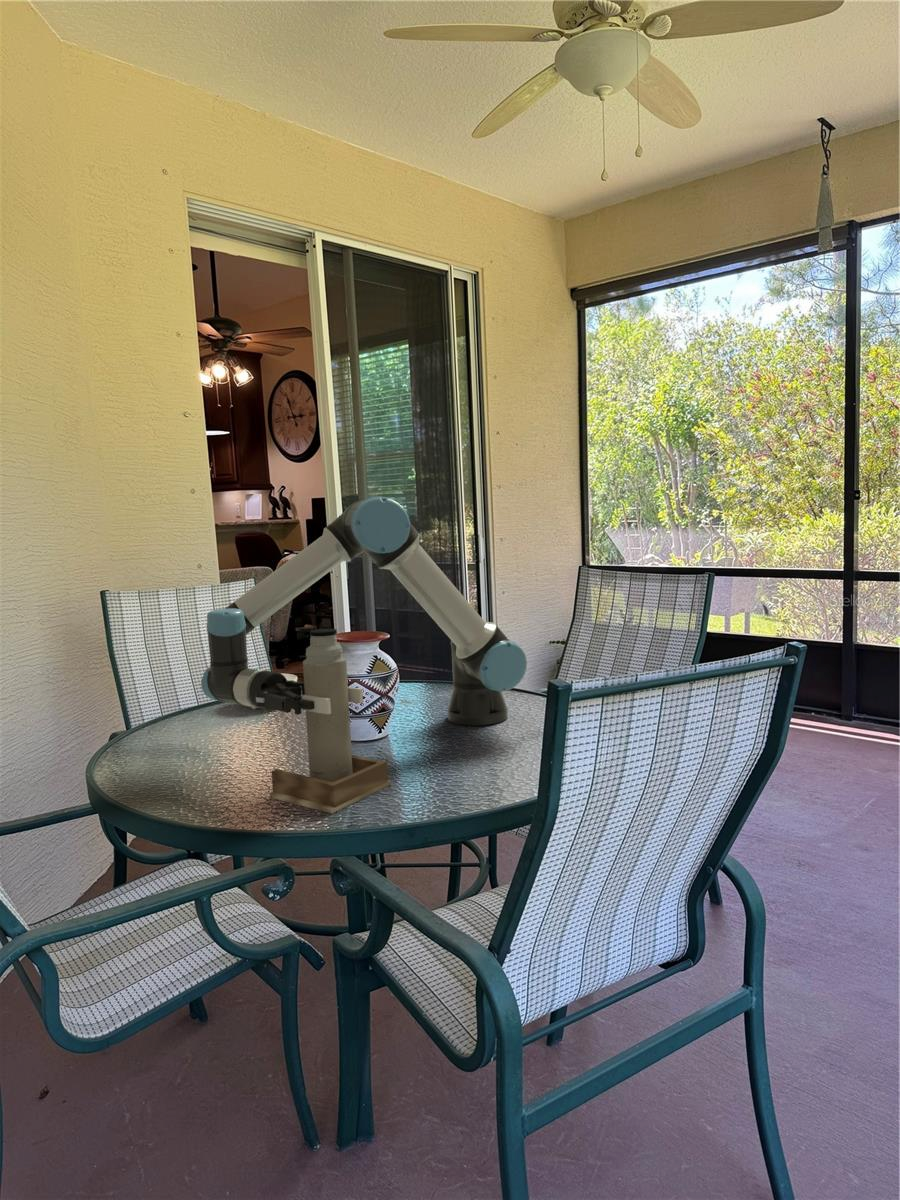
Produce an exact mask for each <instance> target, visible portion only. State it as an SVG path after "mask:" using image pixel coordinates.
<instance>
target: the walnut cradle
mask: <svg viewBox="0 0 900 1200" xmlns="http://www.w3.org/2000/svg"><path fill="white" fill-rule="evenodd" d="M352 771H353V774H351V775H349V776H347V777H344V778H342V779H340V780H338V781H335V782H330V781H325V780H321V779H317V778H312V777H310V775H309V776H307V775H304V774H303V775H302V774H299V773H294V772H290V771H285V770H282V769H277V768H276V769H273V770H271V782H272V783H271V784H272V786H271V787H272V791H271V792H269V797H270V798H271V799H274V800H275V799H276V800H279V801H283V802H286V803H291V804H293V805H297V806H303V807H304V808H305V807H306V808H309V809H313V810H316V811H320V812H325V813H328V814H331V815H332V814H334V813H336V811H337V812H338V811H341V810H342V809H345V808H347V807H348V806H350V805H352V804H355V803H357V802H358V801H361V800H363V799H365V798H367V797H370V795H373V794H376V793H377V792H379V791H381V790H383V789H385V788H387V787H389V786H391V780H388V779H389V778H388V763H387V761H384V760H379V759H375V758H368V757H365V756H359V755H355V754H352Z"/></svg>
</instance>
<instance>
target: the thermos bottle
mask: <svg viewBox="0 0 900 1200" xmlns="http://www.w3.org/2000/svg"><path fill="white" fill-rule="evenodd" d="M337 632H338V631H337V629H336V628H317V629H312V630H310V631H309V635H310V638H309V640H310V641H309V644H310V645H308V647H306V648H305V657H306V658H305V659H304V660H303V661H302V669H303V673H302V674H303V682H304V689H305V695H308V696H315V697H322V698H329V699H330V703H331V714H323V713H316V712H310V711H305V719H306V733H307V735H306V736H307V747H308V748H307V749H308V752H307V753H308V767H309V776H310V777H312V778H317V779H321V780H325V781H330V782H335V781H338V780H340V779H342V778H344V777H347V776H349V775H351V774H353V771H352V755H353V754H352V753H353V752H352V741H351V740H352V738H351V722H350V721H351V719H350V702H349V699H348V687H349V686H348V684H349V681H348V667H347V666H348V665H347V658H346V657H344V656H343V651H344V650H343V647H342V646H341V645H340V644H338V639H337V635H336V634H337Z"/></svg>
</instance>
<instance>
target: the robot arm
mask: <svg viewBox="0 0 900 1200" xmlns="http://www.w3.org/2000/svg"><path fill="white" fill-rule="evenodd" d="M420 538H421V537H420V533H419V532H418V531H417V529H416V528H415V527H414V525H413V524H412V523H411V521H410V517H409V515H408V513H407V511H406V510H405V508H404V507H403V506H402V505H401V504H400V503H399V502H397V501H395V500H394V499H392V498H389V497H386V496H382V495H381V496H378V495H377V496H371V497H368V498H363V499H360V500H357V501H355V502H353V503H351V504H350V505H349V506H348V507H347V508H346V509H345V510H344V511H343V512H342V513H341V514H340V515H338V517H336V518H335V519H334V520H333V521H332V522H331V523H329V524H328V525H326V527H324V528H323V532H322V535H321V536H319V537H318V538H317V539H316V540H314V541H313V542H312V543H310V544H309V545H308V546H306V547H305V548H304V549H302V550H301V551H300V552H298V553H297V554H296V555H294V556H293V557H291V558H290V559H289V560H288V561H286V562H285V563H283V564H282V565H281V566H280V567H278V568H276V569H275V570H274V571H273V572H272V573H270V574H269V575H268V576H266V577H264V578H263V579H262V580H261V581H259V582H258V583H256V584H255V585H254V586H253V587H252V588H250V589H249V590H248V591H246V592H244V594H242V595H241V596H240V597H238V598H237V599H235V600H234V601H233V602H232V603H230V604H229V605H228V606H226V607H225V608H219V609H213V610H211V611H209V612H207V616H206V621H207V622H206V631H207V640H208V650H209V652H208V653H209V658H210V659H209V662H210V663H209V667H207V669H206V670H205V671H204V672H203V676H202V678H201V680H200V681H201V682H200V686H201V689H202V691H203V694H204V695H205V696H206V697H208V698H209V699H211V700H214V701H218V702H220V703H223V704H224V703H225V704H226V703H227V704H234V705H240V706H245V705H246V706H245V707H248V706H252V707H251V709H253V710H256V709H263V710H264V709H265V710H268V711H269V710H270V711H272V710H275V711H279V712H283V713H287V714H288V713H290V712H292V710H293V711H294V715H295V716H297V715H301V714H302V711H305V712H306V711H310V712H316V713H323V714H331V703H330V699H329V698H322V697H315V696H308V695H305V689H304V681H297V682H295V681H287V680H286V678H285V677H284V676H283V675H282V674H281V672H279V671H273V670H271V671H270V670H265V669H257V668H249V659H248V649H247V645H248V644H247V635H248V634H250V633H251V632H252V631H253V630H254V629H256V628H257V627H258V626H260V625H261V624H262V623H263V622H264V621H266V620H267V619H268V618H270V617H271V616H273V615H274V614H275V613H276V612H278V611H279V610H280V609H282V608H283V607H285V606H286V605H287V604H289V603H290V602H291V601H292V600H294V599H295V598H297V596H299V595H301V593H303V592H305V590H307V589H308V588H310V587H311V586H312V585H313V584H315V583H316V582H318V581H319V580H320V579H322V578H323V577H324V576H326V575H327V574H329V573H330V572H331V571H332V570H334V569H335V568H336V567H337V566H339V565H340V564H342V563H343V562H347V563H350V562H351V561H352V560H354V559H355V558H357V557H358V556H360V555H362V554H363V553H365V554H366V555H367V556H368V557H369V559H371V560H372V562H373V563H374V564H375V565H376V566H377V568H378V569H379V570H389V571H390V572H391V573H392V574H393V575H394V576H395V577H396V579H397V580H398V581H399V582H400V583H401V585H402V586H403V587H404V588H405V589H406V590H407V591H408V593H410V595H411V596H412V597H413V598H414V599H415V600H416V602H417V603H418V604H419V605H420V607H422V608H423V610H424V611H425V612H426V613H427V614H428V615H429V616H430V618H431V619H432V620H433V621H434V622H435V624H437V626H438V627H439V628H440V629H441V630H442V632H444V634H445V635H446V636H447V637H448V638H449V639H450V647H451V665H452V666H451V667H452V683H453V685H452V692H451V696H450V699H449V704H448V707H447V720H448V721H449V722H450V723H453V724H455V725H460V726H461V725H462V726H470V727H471V726H475V727H476V726H488V725H494V724H498V723H501V722H504V721H506V720H507V719H508V717H509V715H508V713H509V712H508V707H507V703H506V701H505V698H504V696H503V692H507V691H509V690H512V689H514V688H516V686H519V684H520V683H521V681H522V680H523V678H525V677H524V676H525V674H526V672H527V665H528V662H527V661H528V660H527V656H526V653H525V652H524V649H522V647H521V646H520V645H519V644H517V643H516V642H514V641H511V640H510V639H509V638H508V637H507V636H506V635H505V634H504V632H503V631H502V630H501V629H500V627H498V625H497V624H496V623H495V622H493V621H492V622H491V621H485V620H484V619H483V618H482V616H480V614H479V613H478V612H477V611H476V609H474V607H473V606H472V605H471V603H470V602H469V601H468V600H467V598H465V596H464V595H463V594H462V593H461V592H460V591H459V590H458V588H457V587H456V586H455V585H454V583H453V582H452V581H451V580H450V579H449V578H448V577H447V575H446V574H445V573H444V571H442V570H441V568H440V567H439V566H438V565H437V564H436V562H435V561H434V560H433V559H432V558H431V556H430V555H429V554H428V553H427V551H425V550H424V548H423V547H422V546H421V545H420ZM363 694H364V692H363V688H360V687H353V686H348V699H349V703H354V704H363V703H364V696H363ZM256 707H258V708H256Z"/></svg>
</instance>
